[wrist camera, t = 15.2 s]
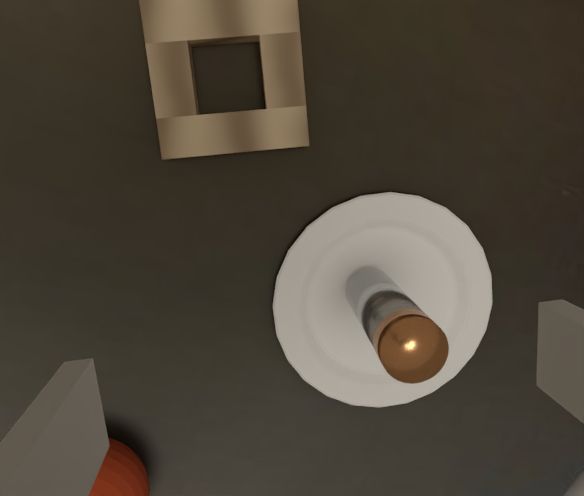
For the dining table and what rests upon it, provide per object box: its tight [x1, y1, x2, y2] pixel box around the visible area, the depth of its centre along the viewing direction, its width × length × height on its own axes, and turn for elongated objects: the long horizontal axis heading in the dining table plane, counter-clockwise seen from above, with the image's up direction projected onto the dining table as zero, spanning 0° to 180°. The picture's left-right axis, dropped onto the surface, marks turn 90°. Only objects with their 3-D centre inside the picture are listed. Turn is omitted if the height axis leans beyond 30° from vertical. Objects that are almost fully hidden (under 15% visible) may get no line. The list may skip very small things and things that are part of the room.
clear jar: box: [346, 268, 449, 384], centre depth 38 cm, size 4×4×13 cm
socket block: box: [139, 0, 309, 160], centre depth 39 cm, size 12×12×2 cm
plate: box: [273, 192, 492, 407], centre depth 45 cm, size 21×21×2 cm
